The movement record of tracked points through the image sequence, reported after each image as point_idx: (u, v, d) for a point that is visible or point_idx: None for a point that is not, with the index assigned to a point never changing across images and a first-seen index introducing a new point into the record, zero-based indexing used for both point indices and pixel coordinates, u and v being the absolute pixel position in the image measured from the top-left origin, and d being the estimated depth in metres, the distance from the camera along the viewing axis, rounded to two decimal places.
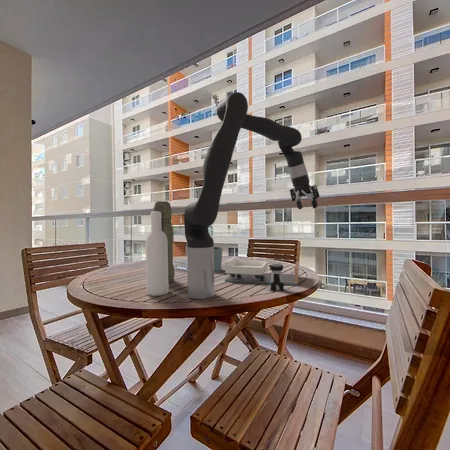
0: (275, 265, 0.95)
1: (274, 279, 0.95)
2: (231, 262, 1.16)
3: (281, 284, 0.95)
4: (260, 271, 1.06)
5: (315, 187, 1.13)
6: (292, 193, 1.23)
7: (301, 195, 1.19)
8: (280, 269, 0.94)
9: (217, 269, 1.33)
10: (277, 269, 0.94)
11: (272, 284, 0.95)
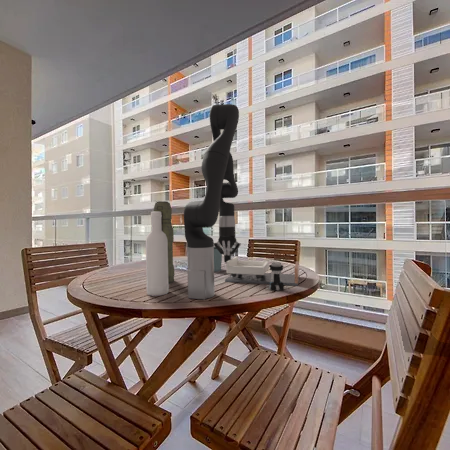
0: (275, 265, 0.95)
1: (274, 279, 0.95)
2: (232, 262, 1.16)
3: (281, 284, 0.95)
4: (261, 271, 1.06)
5: (239, 246, 1.17)
6: (218, 246, 1.19)
7: (227, 244, 1.17)
8: (280, 269, 0.94)
9: (217, 269, 1.33)
10: (277, 269, 0.94)
11: (272, 284, 0.95)
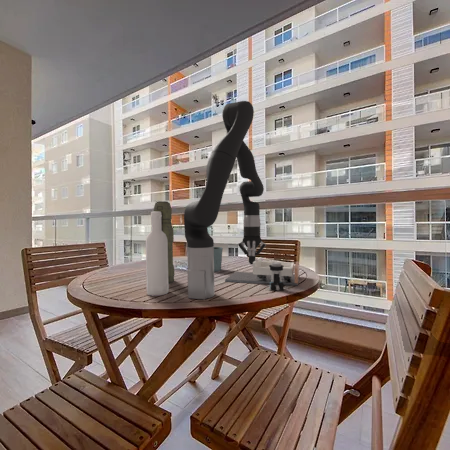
0: (275, 265, 0.95)
1: (274, 279, 0.95)
2: (257, 263, 1.12)
3: (281, 284, 0.95)
4: (290, 272, 1.02)
5: (264, 246, 1.13)
6: (242, 246, 1.15)
7: (252, 244, 1.14)
8: (280, 269, 0.94)
9: (217, 269, 1.33)
10: (277, 269, 0.94)
11: (272, 284, 0.95)
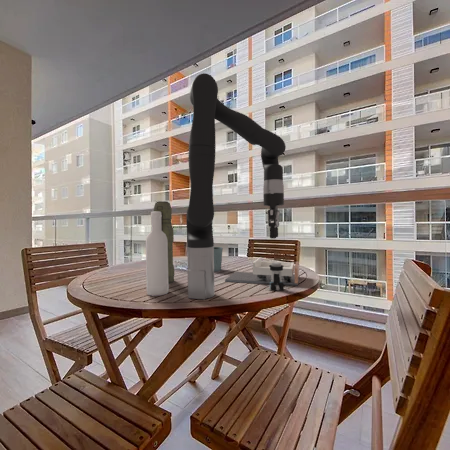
0: (275, 265, 0.95)
1: (274, 279, 0.95)
2: (257, 263, 1.12)
3: (281, 284, 0.95)
4: (290, 272, 1.02)
5: (272, 212, 0.89)
6: None
7: None
8: (280, 269, 0.94)
9: (217, 269, 1.33)
10: (277, 269, 0.94)
11: (272, 284, 0.95)
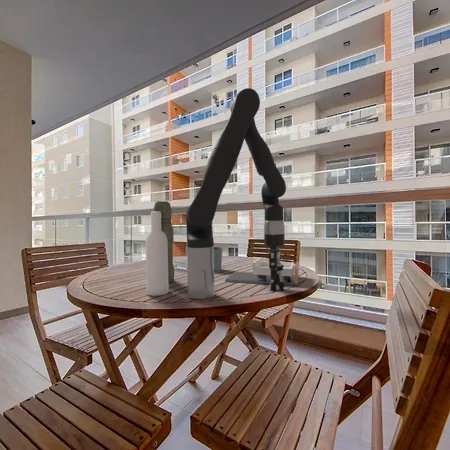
0: None
1: None
2: (257, 263, 1.12)
3: (281, 284, 0.95)
4: (290, 272, 1.02)
5: (273, 256, 0.90)
6: None
7: None
8: (280, 269, 0.94)
9: (217, 269, 1.33)
10: (277, 269, 0.94)
11: (272, 284, 0.95)
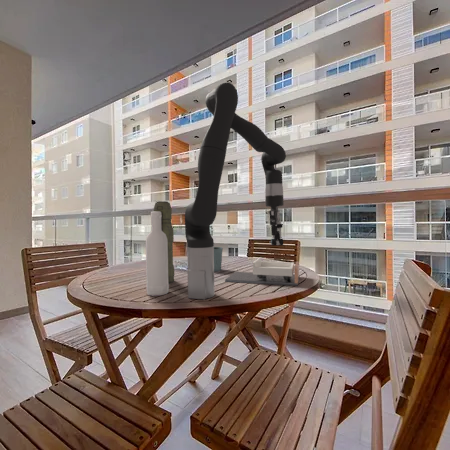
0: None
1: (275, 235, 1.08)
2: (257, 263, 1.12)
3: (281, 240, 1.08)
4: (290, 272, 1.02)
5: (273, 213, 1.03)
6: None
7: None
8: (280, 226, 1.07)
9: (217, 269, 1.33)
10: (277, 226, 1.07)
11: (273, 240, 1.08)
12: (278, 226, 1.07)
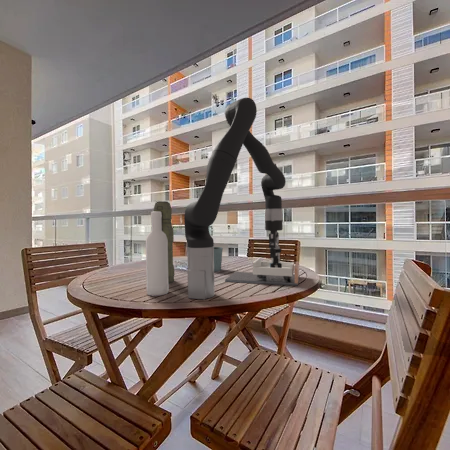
0: None
1: (273, 260, 1.11)
2: (257, 263, 1.12)
3: (279, 264, 1.11)
4: (290, 272, 1.02)
5: (272, 236, 1.05)
6: None
7: None
8: (279, 251, 1.10)
9: (217, 269, 1.33)
10: (276, 251, 1.10)
11: (272, 264, 1.11)
12: (277, 251, 1.10)
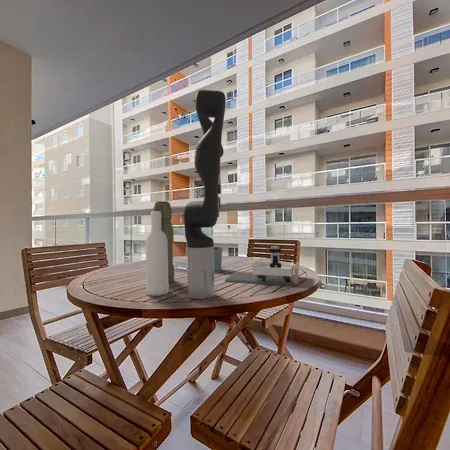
0: (274, 248, 1.10)
1: (273, 260, 1.11)
2: (257, 263, 1.12)
3: (279, 264, 1.11)
4: (289, 272, 1.02)
5: None
6: None
7: None
8: (278, 251, 1.10)
9: (217, 269, 1.33)
10: (276, 251, 1.10)
11: (271, 264, 1.11)
12: (276, 251, 1.10)
